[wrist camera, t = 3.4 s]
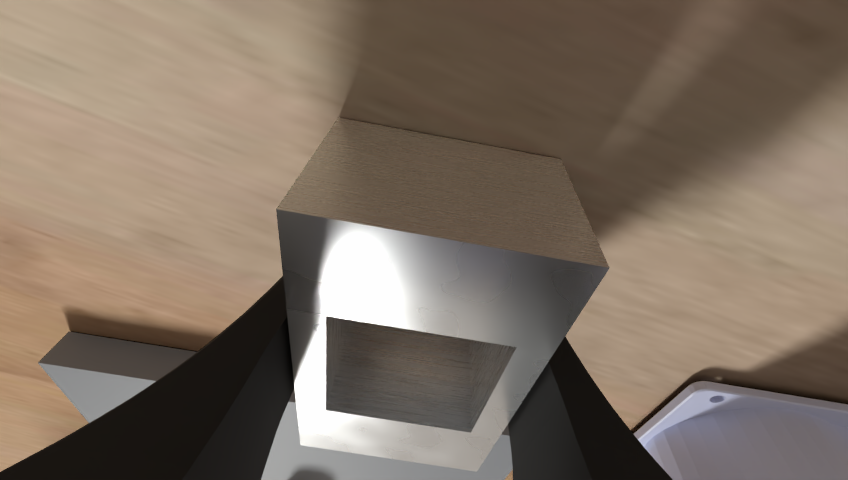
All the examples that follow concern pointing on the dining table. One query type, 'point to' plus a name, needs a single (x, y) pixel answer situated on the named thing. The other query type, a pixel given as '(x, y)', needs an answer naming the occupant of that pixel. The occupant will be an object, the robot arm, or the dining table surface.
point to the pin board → (288, 460)
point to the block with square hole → (426, 289)
